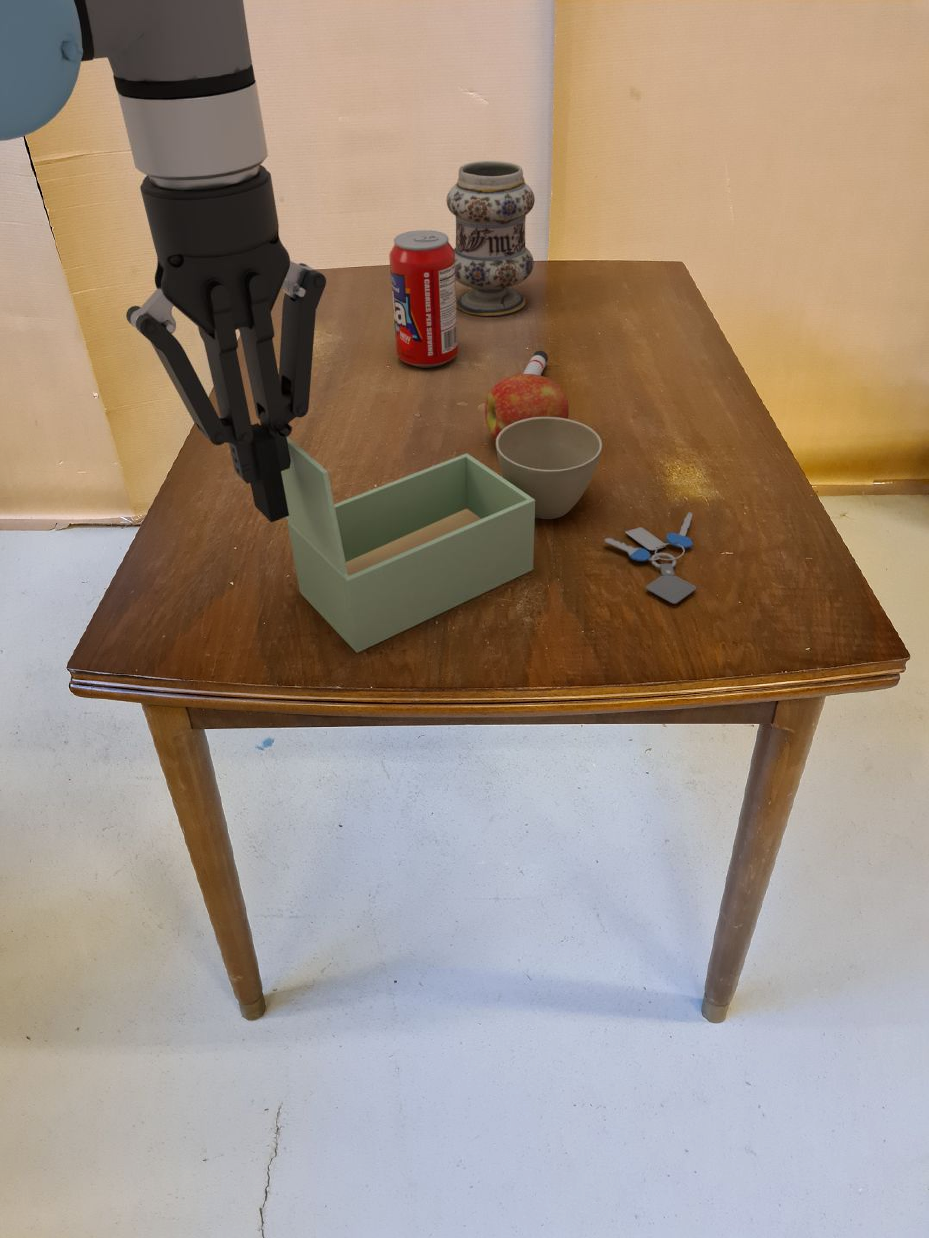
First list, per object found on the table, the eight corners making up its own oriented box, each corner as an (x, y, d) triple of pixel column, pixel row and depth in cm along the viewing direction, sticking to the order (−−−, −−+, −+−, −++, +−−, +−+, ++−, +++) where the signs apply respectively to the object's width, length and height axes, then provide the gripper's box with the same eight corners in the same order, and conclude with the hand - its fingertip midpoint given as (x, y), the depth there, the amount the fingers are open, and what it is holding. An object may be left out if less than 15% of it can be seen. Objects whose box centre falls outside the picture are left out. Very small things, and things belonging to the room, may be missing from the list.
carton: (356, 653, 74) (346, 581, 69) (299, 592, 80) (286, 522, 76) (533, 569, 82) (535, 499, 77) (468, 520, 88) (466, 452, 83)
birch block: (340, 598, 79) (335, 566, 77) (467, 539, 85) (466, 507, 83) (361, 618, 77) (357, 586, 74) (491, 556, 83) (490, 524, 81)
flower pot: (483, 526, 88) (483, 461, 83) (510, 473, 95) (510, 411, 90) (586, 541, 85) (591, 476, 80) (605, 486, 92) (610, 423, 88)
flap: (347, 572, 69) (343, 574, 69) (287, 515, 75) (283, 516, 75) (327, 470, 63) (322, 473, 63) (264, 417, 69) (259, 419, 69)
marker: (532, 364, 115) (533, 349, 113) (547, 366, 114) (548, 351, 113) (502, 421, 103) (502, 405, 102) (519, 423, 103) (519, 407, 102)
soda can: (457, 371, 114) (453, 248, 104) (395, 372, 114) (385, 250, 104) (458, 345, 120) (455, 226, 110) (399, 346, 120) (390, 228, 110)
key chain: (696, 609, 77) (697, 601, 76) (598, 600, 78) (599, 593, 78) (693, 517, 87) (694, 510, 87) (607, 511, 89) (607, 504, 88)
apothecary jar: (543, 293, 133) (548, 159, 121) (515, 325, 124) (517, 184, 113) (467, 284, 136) (464, 153, 125) (435, 313, 128) (428, 176, 116)
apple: (480, 433, 101) (479, 366, 96) (551, 423, 103) (554, 356, 98) (499, 469, 95) (499, 399, 90) (575, 457, 97) (579, 388, 92)
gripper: (276, 139, 58) (324, 462, 73) (71, 177, 52) (170, 519, 67) (334, 162, 53) (372, 503, 68) (116, 207, 47) (211, 567, 63)
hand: (272, 510), depth 68 cm, fingers closed
